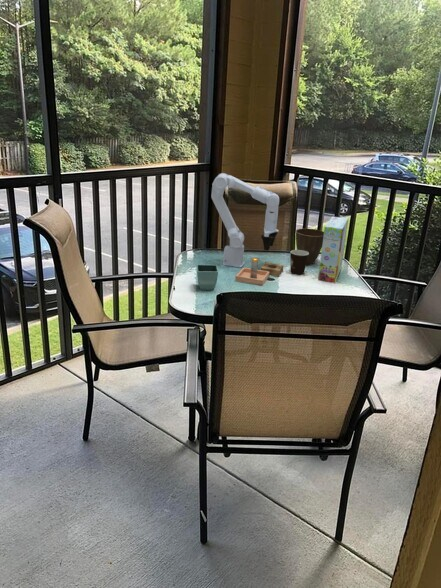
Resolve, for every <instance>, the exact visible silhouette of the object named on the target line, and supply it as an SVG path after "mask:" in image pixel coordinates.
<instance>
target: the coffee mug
mask: <svg viewBox="0 0 441 588" xmlns="http://www.w3.org/2000/svg"><path fill="white" fill-rule="evenodd" d="M289 253H290V254H289V255H290V257H289V259H290V262H289V264H290V265H289V266H290V268H289V269H290V273H291V274H292V275H295V276H302V275H304V274H305V271H306V270H305V269H306V266H307V265H306V263H307V259H308V255H309V253H308V252H306V251H303V250H297V249H293V250H291V251H290V252H289Z"/></svg>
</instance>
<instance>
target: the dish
mask: <svg viewBox="0 0 441 588" xmlns="http://www.w3.org/2000/svg"><path fill="white" fill-rule="evenodd" d="M250 273H251V267H242V268H241V270H239V272H238V273H237V274H235V277H234V282H240V283H245V284H252V285H255V286H257V285H258V286H263V285H264V284H265V283H266V282H267V280H268V279H269V278H270V275H269V274H270V272H268V271H262V270H261V269H257V278H256V279H254V278H250Z"/></svg>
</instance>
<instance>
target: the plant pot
mask: <svg viewBox="0 0 441 588" xmlns="http://www.w3.org/2000/svg"><path fill="white" fill-rule="evenodd" d="M323 236H324V230H320V229H315V228H298V229H296V230H295V243H296V250H303V251H306V252H308V253H309V255H308V259H307V263H306V266H307V265H308V266H311V265H315V263H316V262H317V261H316V260H317V259H318V256H319V255H320V253H321V252H322V245H323Z"/></svg>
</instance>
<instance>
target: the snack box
mask: <svg viewBox="0 0 441 588" xmlns="http://www.w3.org/2000/svg"><path fill="white" fill-rule="evenodd" d="M348 223H349V218H348V217H339V216H331V218H329V221H328V222H327V223H326V225H325V226H324V229H323V232H324V236H323V245H322V248H321V252H320V253H321V254H320V262H319V271H318V278H317V280H318V281H322V282H329V283H335V284H336V281H337V279H338V276H339V275H340V273H341V270H342V269H343V268H342V266H343V261H344V251H345V247H346V246H345V245H346V239H347V231H348Z"/></svg>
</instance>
